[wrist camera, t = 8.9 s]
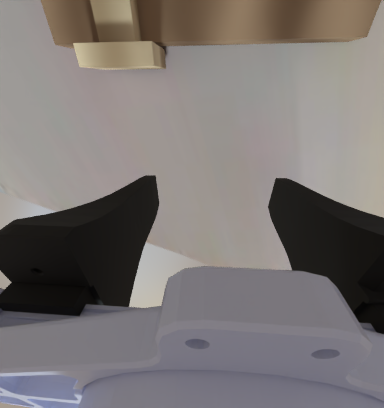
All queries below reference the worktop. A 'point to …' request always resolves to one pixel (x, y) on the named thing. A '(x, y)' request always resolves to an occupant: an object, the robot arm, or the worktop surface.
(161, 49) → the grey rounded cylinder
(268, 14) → the board
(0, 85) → the worktop surface
